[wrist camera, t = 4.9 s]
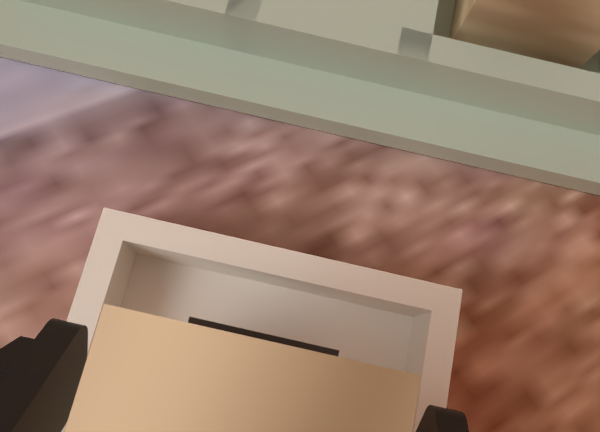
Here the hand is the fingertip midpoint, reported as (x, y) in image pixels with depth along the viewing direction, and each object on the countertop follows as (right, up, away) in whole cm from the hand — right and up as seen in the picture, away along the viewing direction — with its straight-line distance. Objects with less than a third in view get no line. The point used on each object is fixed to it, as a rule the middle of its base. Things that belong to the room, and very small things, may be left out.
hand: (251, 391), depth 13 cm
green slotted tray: (+3, +13, +9) cm, 16 cm away
